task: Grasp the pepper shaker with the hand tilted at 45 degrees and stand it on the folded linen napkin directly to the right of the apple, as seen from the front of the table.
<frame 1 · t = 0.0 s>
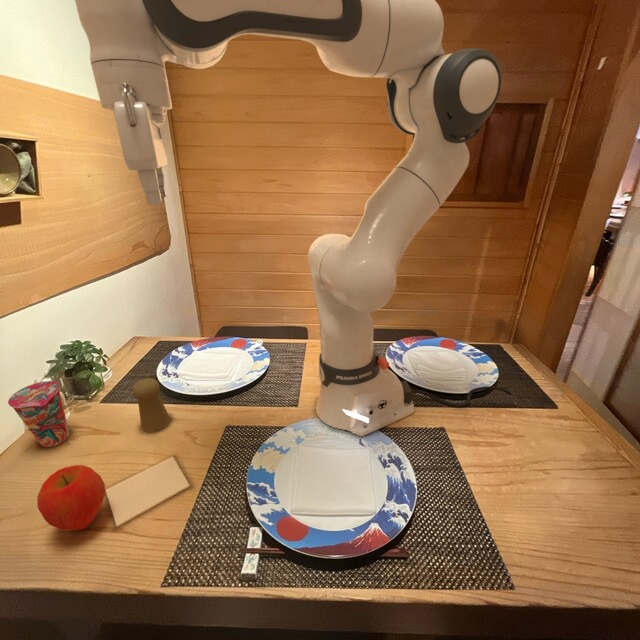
hand: (158, 201, 54), 48 cm above the table, tool pointing down, fingers open, 8 cm apart
pepper shaker: (156, 423, 80), on the table
apple: (85, 523, 59), on the table
napkin: (148, 489, 64), on the table
cup: (57, 439, 77), on the table
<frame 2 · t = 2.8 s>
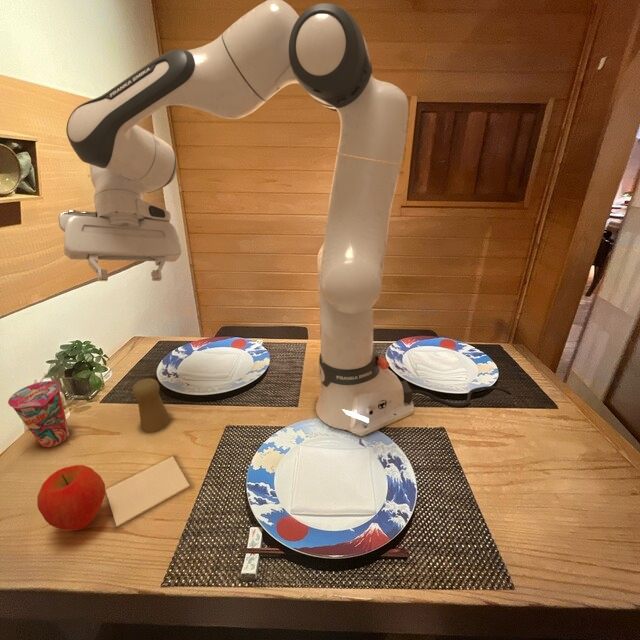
hand: (131, 280, 69), 33 cm above the table, tool tilted 35°, fingers open, 8 cm apart
nothing on the table moved.
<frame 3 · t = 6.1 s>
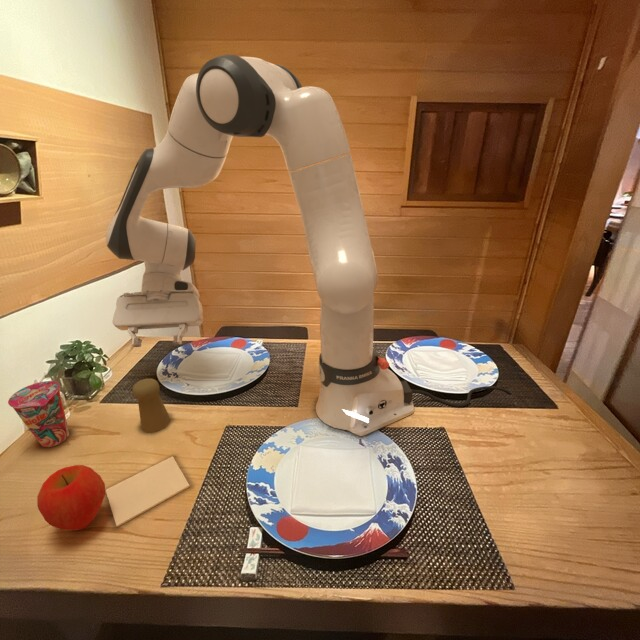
hand: (156, 345, 83), 14 cm above the table, tool tilted 45°, fingers open, 8 cm apart
nothing on the table moved.
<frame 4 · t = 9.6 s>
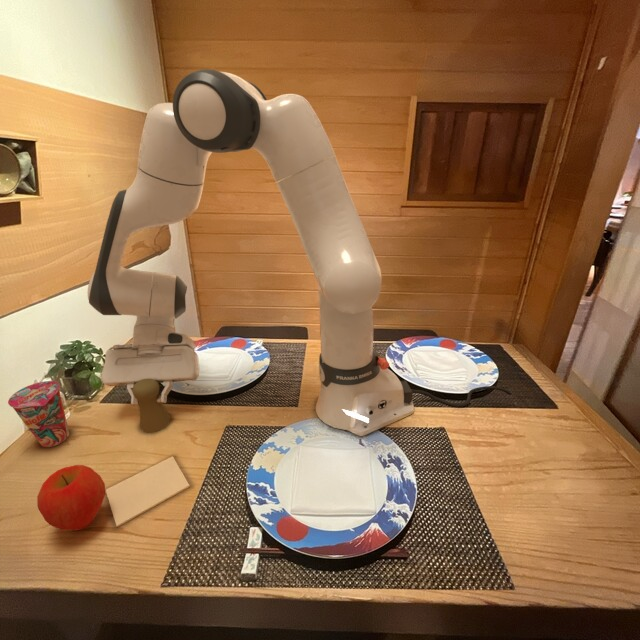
hand: (148, 403, 77), 6 cm above the table, tool tilted 45°, fingers closed on pepper shaker, 4 cm apart
pepper shaker: (156, 423, 80), on the table, touching gripper
everything else where it was.
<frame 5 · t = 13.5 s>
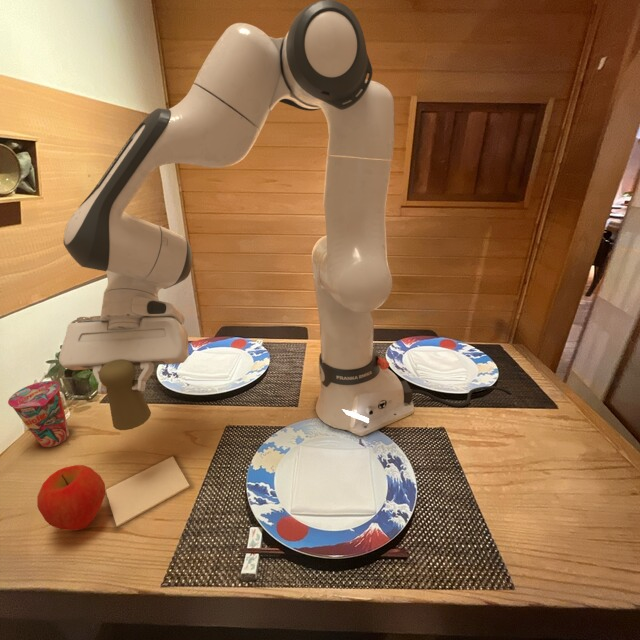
hand: (121, 392, 59), 19 cm above the table, tool tilted 45°, fingers closed on pepper shaker, 4 cm apart
pepper shaker: (132, 418, 62), point 13 cm above the table, touching gripper
everything else where it was.
when the fingers open (6 cm above the table, at t = 17.8 s): pepper shaker stays where it is, resting on napkin.
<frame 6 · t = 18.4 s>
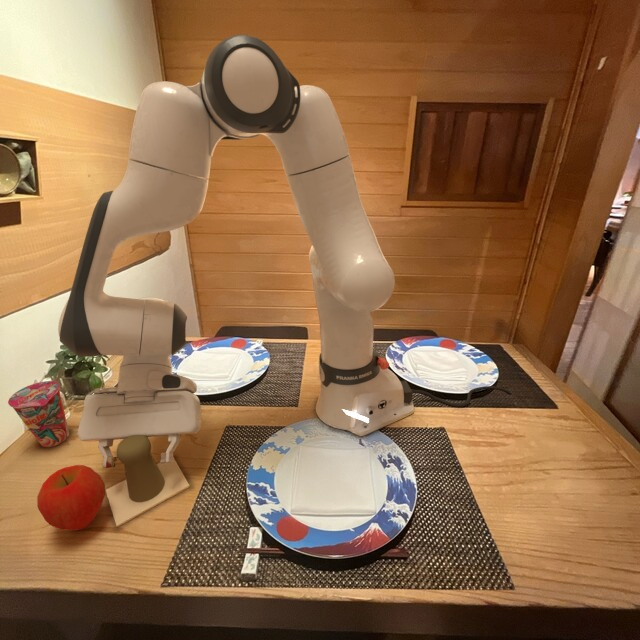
hand: (138, 465, 61), 6 cm above the table, tool tilted 45°, fingers open, 8 cm apart
pepper shaker: (147, 488, 64), resting on napkin
everything else where it was.
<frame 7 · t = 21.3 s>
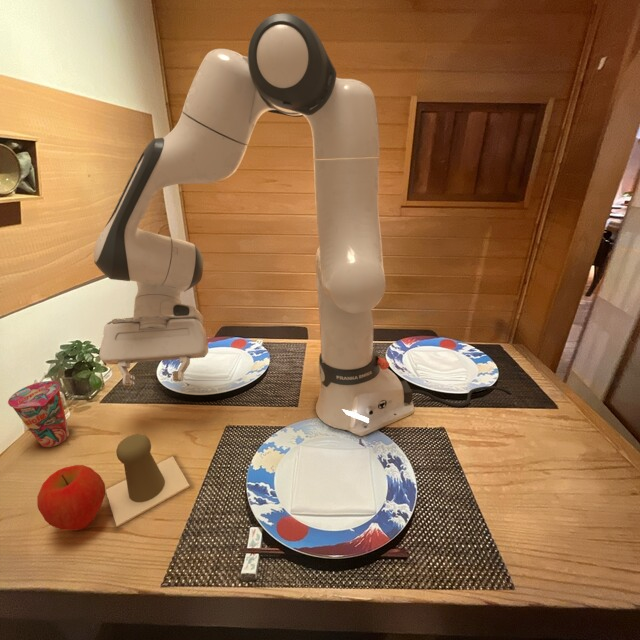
hand: (153, 382, 69), 14 cm above the table, tool tilted 45°, fingers open, 8 cm apart
nothing on the table moved.
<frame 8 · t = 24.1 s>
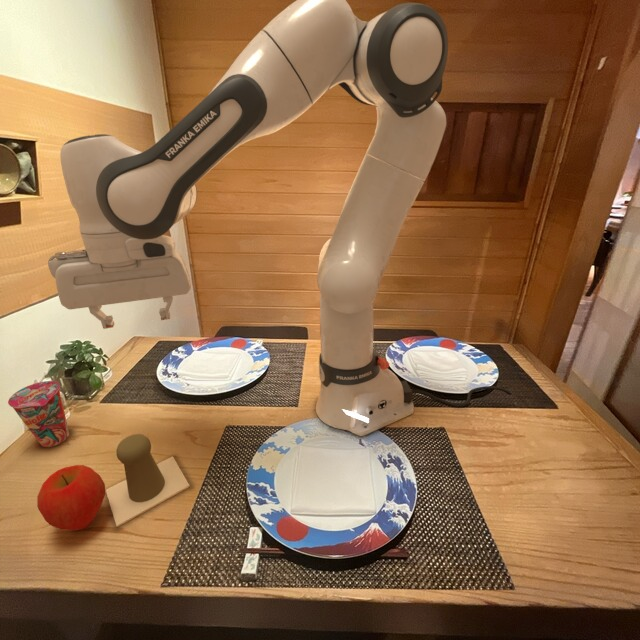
hand: (138, 322, 64), 27 cm above the table, tool pointing down, fingers open, 8 cm apart
nothing on the table moved.
at the end: pepper shaker inside the target area on the table beside the apple (0.4 cm from its centre), resting on napkin; pepper shaker tilted 0°; the gripper is holding nothing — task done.
